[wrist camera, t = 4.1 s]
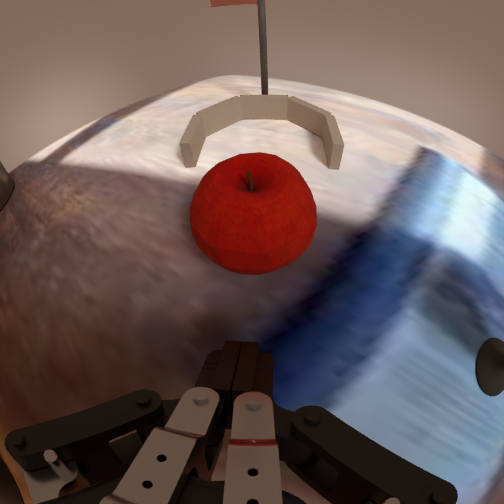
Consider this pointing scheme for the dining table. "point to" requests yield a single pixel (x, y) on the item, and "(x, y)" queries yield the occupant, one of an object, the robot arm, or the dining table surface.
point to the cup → (261, 109)
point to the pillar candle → (8, 487)
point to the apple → (253, 213)
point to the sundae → (491, 367)
